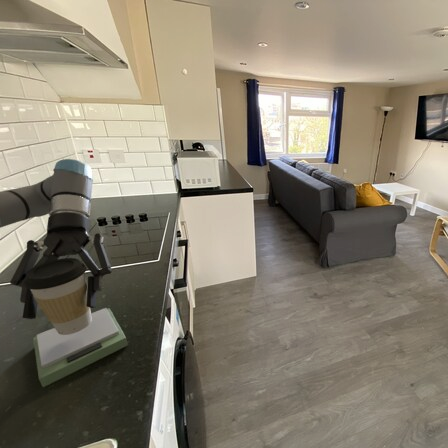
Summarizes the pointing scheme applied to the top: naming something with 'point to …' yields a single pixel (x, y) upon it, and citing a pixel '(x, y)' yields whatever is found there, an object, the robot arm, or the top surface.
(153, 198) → the top surface
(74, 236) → the robot arm
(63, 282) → the coffee cup
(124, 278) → the top surface
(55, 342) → the kitchen scale
